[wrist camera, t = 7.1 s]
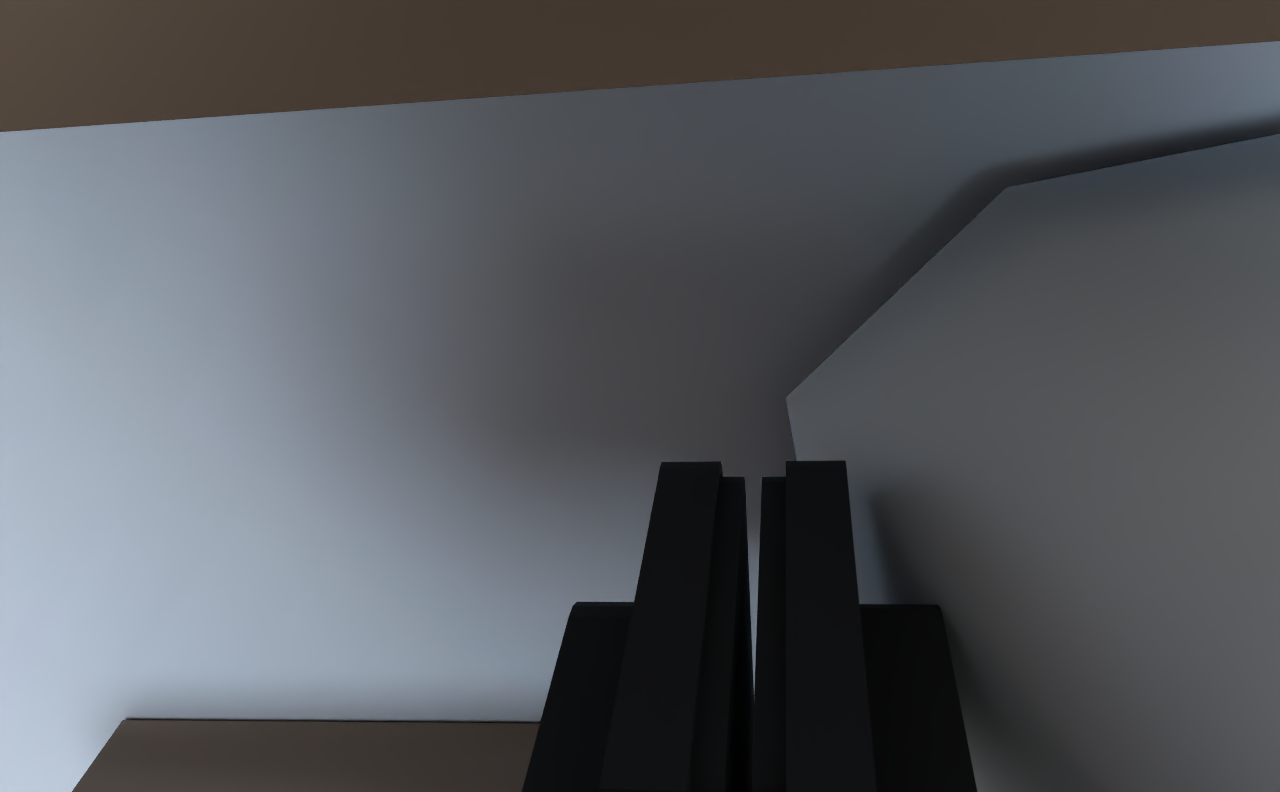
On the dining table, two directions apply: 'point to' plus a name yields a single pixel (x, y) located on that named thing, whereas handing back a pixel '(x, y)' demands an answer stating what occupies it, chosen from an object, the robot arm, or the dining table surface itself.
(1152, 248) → the flask
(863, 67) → the chute
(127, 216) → the dining table surface
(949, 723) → the robot arm
